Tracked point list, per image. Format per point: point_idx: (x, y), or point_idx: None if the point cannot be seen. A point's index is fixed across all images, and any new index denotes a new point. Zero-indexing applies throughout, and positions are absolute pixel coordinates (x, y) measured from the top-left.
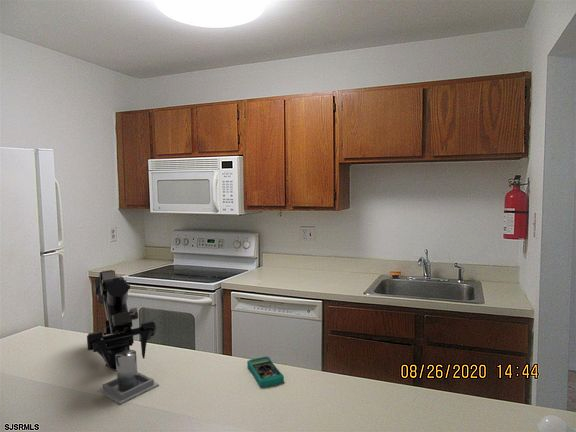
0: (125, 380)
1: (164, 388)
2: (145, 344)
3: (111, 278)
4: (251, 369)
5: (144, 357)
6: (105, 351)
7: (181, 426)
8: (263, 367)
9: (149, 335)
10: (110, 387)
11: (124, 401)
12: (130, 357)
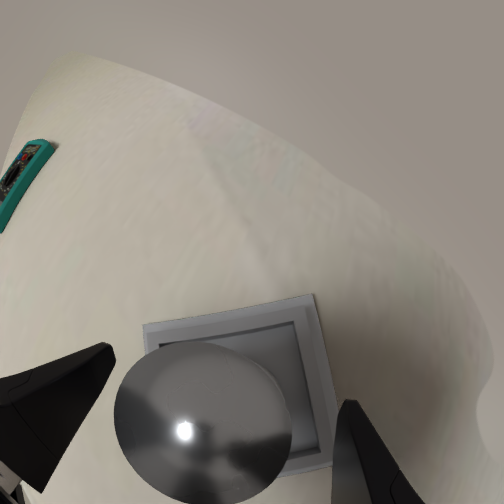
0: (259, 364)
1: (143, 290)
2: (32, 372)
3: None
4: (12, 201)
5: (107, 345)
6: (387, 492)
7: (224, 110)
8: (8, 183)
9: None
10: (319, 409)
11: (295, 297)
12: (190, 343)
